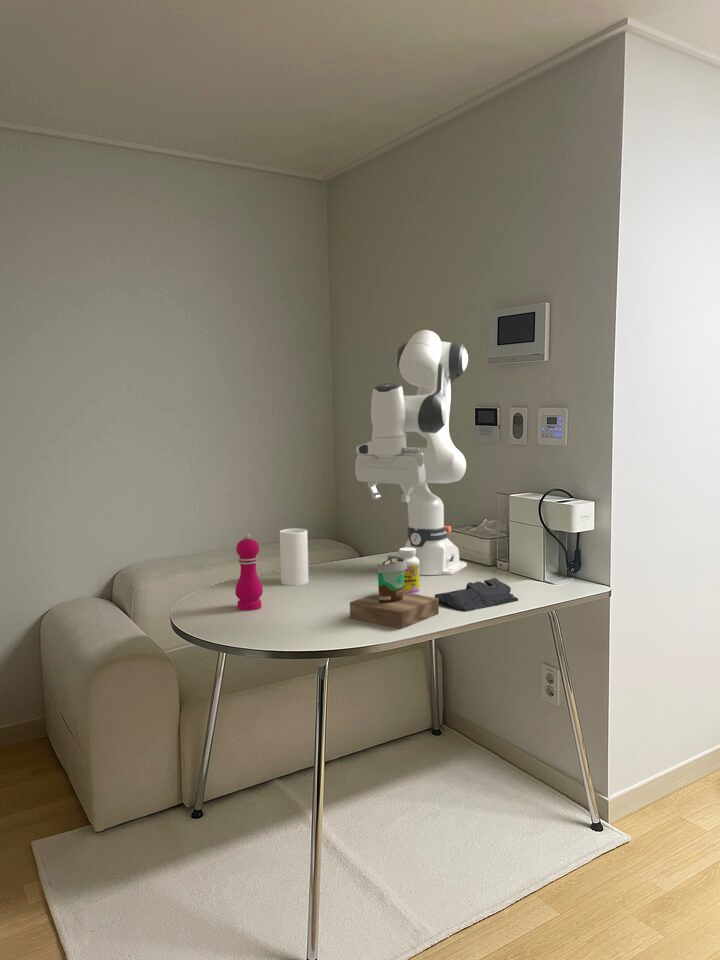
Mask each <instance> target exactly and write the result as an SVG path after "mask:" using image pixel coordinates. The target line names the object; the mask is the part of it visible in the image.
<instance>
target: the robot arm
mask: <svg viewBox="0 0 720 960" xmlns="http://www.w3.org/2000/svg"><path fill="white" fill-rule="evenodd" d="M395 359H396V360H395V362H396V366H397V369H398V371H399V373H400V374H401V376H402V378H403V379H404V380H405V382H407V383H408V384H410V385H412V386H414V387H418V388H417V391H416V394H415V395H404V390H403V386H402V385H401V384H399V383H391V382H390V383H383V384H381V383H380V384H378V385H376V386H375V387H374V388H373V390H372V394H371V404H370V415H371V416H370V417H371V418H370V420H371V422H372V423H371V424H372V433H371V440H370V441H368V442H365V443H362V444H359V445H356V448H355V452H356V454H357V455H356V458H355V467H354V468H355V471H354V472H355V478H356V480H357V481H358V482H364V483H367V487H368V488H369V491H370V492H371V498H372V500H380V499H381V492H380V491H378V489H377V487H376V486H378V483H379V484H388V485H389V484H390V485H391V484H392V485H399V487H400V488H401V491H403V492H402V493H403V494H401V495H400V498H401V499H400V500H401V503H406V504H407V512H408V513H407V514H408V515H407V517H408V525H407V528H406V534H407V536H406V538H408V539H407V541H406V542H405V545H404V548H406V547H409V548H415V549H416V554H415V557H416V558H418V559H419V576H439V575H440V576H441V575H446V576H447V575H448V576H449V575H453V574H455V573H457V572H459V571H461V570H463V568H465V567H467V566H468V563H467V562H466V561H463V560H460V550H459V548H458V546H456V545H455V544H454V542H453V541H451V540H450V539H449V538H448V534H447V533H451V532H452V527H451V526H450V525H448V526H447V525H445V512H444V511H445V506H444V503H443V500H442V499H441V497H439V496H438V495H436V494H434V493H433V492H432V491H431V490H430V489H429V486H428V484H450V483H456V482H459V481H461V480H462V478H463V477H464V476H465V473H466V471H467V460H466V458H465V456H464V454H463V453H462V452H461V451H460V450H459V449H458V448H457V447H456V446H455V444H454V443H453V441H452V438H451V435H450V428H449V426H450V424H449V423H450V412H451V401H452V400H451V399H452V396H451V395H452V393H451V392H452V390H451V388H452V387H451V383H455V382H456V380H457V379H458V378H460V377H461V376H462V375H463V374H464V373H465V372H466V368H467V366H468V363H469V355H468V352H467V348H466V346H465V345H464V344H463V343H460V342H456V341H452V342H448V341H442V340H441V338H440V336H439V335H438V334H437V333H435V331H432V330H428V329H422V330H420V331H417V332H415V333H414V334H413V335H412V337H411V338H409V340H408V341H407V342H404V343H403V344H401V345H400V346H399V348H398V349H397V354H396V358H395ZM407 433H417V434H418V435H420V436H421V437H423V438H425V439H426V443H427V444H426V446H425V447H415V446H414V447H409V446H408V447H407Z"/></svg>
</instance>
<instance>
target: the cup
mask: <svg viewBox="0 0 720 960" xmlns="http://www.w3.org/2000/svg"><path fill="white" fill-rule="evenodd" d="M308 538H309V537H308V530H307V529H306V528H295V527H294V528H285V529H281V530H280V531H279V552H280V553H279V554H280V557H279V558H280V559H279V561H280V583H281V584H282V585H284V586H285V585H286V586H300V585H301V586H302V585H305V584H308V583H309V546H308V545H309V544H308V543H309V542H308Z"/></svg>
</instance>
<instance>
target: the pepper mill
mask: <svg viewBox="0 0 720 960" xmlns="http://www.w3.org/2000/svg"><path fill="white" fill-rule="evenodd" d="M243 537H244V539H241V540H240V541H238V542H237V545H236V548H235V550H236V554H237V555H238V564H239V565H240V573H239V578H238V581H237V583H236V586H235V593H234V594H235V595H236V597H237V598H238V601H237V609H238V610H241V611H255V610H259V609H261V608H262V599H260V598H261V596H262V595H263V592H264V591H263V584H262V583H261V581H260V578H259V576H258V572H257V564H258V554H259V552H260V546H259V543H258V542H257V541H256V540H255V539H253V538H251V537H252V535H251V534H250V533H247V532H246V533H245V534H244V535H243Z"/></svg>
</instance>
